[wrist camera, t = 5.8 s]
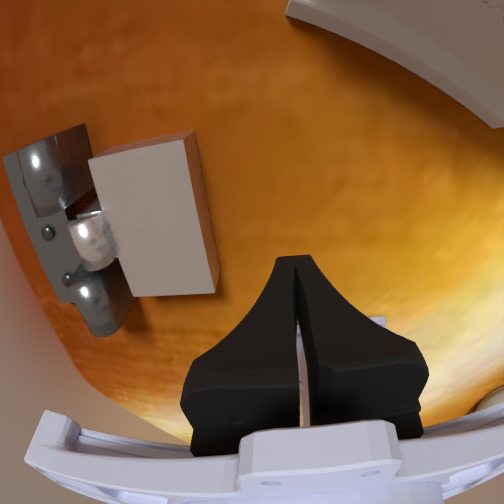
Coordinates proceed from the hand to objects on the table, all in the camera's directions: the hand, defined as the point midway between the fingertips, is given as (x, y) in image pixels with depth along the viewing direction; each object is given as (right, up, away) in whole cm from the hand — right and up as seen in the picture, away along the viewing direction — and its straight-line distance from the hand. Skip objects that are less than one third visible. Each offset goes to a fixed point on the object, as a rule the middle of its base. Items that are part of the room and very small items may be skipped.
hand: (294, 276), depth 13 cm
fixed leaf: (-16, +3, +9) cm, 19 cm away
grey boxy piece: (-9, +4, +8) cm, 13 cm away
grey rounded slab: (+9, +15, 0) cm, 18 cm away
